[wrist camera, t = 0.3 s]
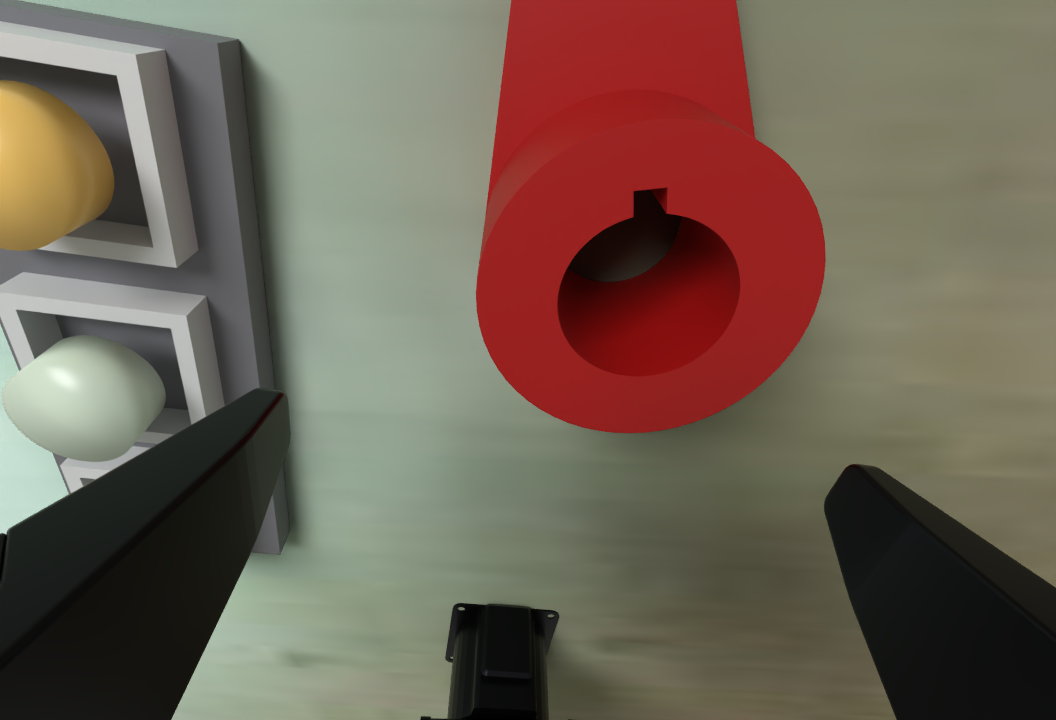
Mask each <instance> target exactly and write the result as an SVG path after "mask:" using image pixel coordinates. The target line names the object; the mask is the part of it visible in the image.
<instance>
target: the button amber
mask: <svg viewBox="0 0 1056 720" xmlns="http://www.w3.org/2000/svg"><path fill="white" fill-rule="evenodd" d="M113 193H114V174H113V169H112V165H111V162H110V159H109V157H108V154H107V152H106V150H105V148H104V146H103V144H102V143H101V141H100V139H99V138H98V136H97V135H96V134H95V132H94V131H93V130H92V128H91V127H90V126H89V125H88V124H87V122H86V121H85V120H84V119H83V118H82V117H81V116H80V115H79V114H78V113H77V112H75V111H74V110H73V109H72V108H71V107H69V106H68V105H67V104H65V103H64V102H63V101H61V100H60V99H58V98H57V97H55V96H53V95H51V94H50V93H48V92H46V91H44V90H42V89H39V88H37V87H35V86H32V85H29V84H26V83H22V82H17V81H10V80H0V248H1V249H6V250H15V251H27V250H34V249H39V248H41V247H44V246H47V245H48V244H50V243H52V242H54V241H56V240H58V239H59V238H61V237H63V236H65V235H67V234H69V233H70V232H72V231H74V230H76V229H78V228H79V227H81V226H83V225H85V224H87V223H89V222H90V221H92V220H94V219H96V218H98V217H99V216H100V215H101V214H103V213H104V211H105V210H106V209H107V208H108V206H109V204H110V202H111V200H112V197H113Z"/></svg>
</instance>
